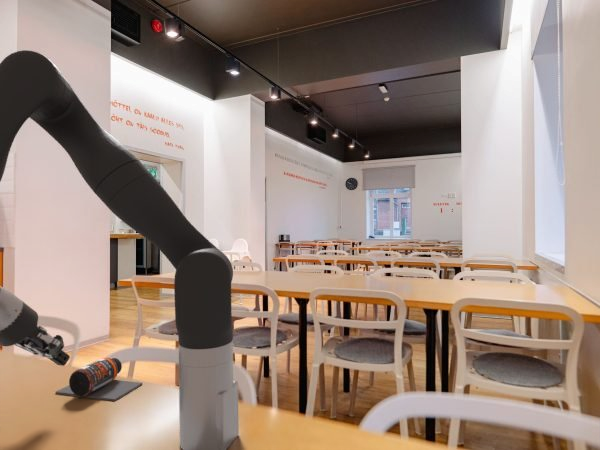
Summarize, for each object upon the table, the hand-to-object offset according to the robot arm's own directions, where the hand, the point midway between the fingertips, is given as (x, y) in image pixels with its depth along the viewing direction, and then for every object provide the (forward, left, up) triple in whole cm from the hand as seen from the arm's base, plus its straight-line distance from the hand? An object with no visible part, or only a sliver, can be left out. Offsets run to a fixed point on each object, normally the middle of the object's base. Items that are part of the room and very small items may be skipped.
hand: (64, 361), depth 81 cm
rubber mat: (0, -9, -10) cm, 13 cm away
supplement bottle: (0, -3, -6) cm, 7 cm away
